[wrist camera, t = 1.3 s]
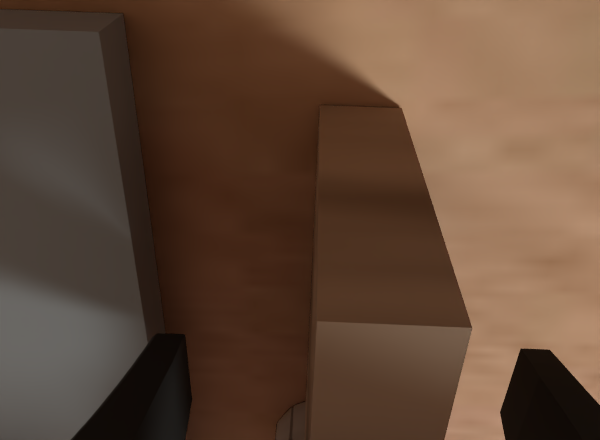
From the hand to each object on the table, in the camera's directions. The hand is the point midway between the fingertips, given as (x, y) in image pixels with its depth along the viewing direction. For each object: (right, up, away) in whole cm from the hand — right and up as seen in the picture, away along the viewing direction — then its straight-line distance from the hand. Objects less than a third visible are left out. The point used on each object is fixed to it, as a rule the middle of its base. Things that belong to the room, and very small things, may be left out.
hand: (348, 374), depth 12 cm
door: (0, 0, +4) cm, 4 cm away
